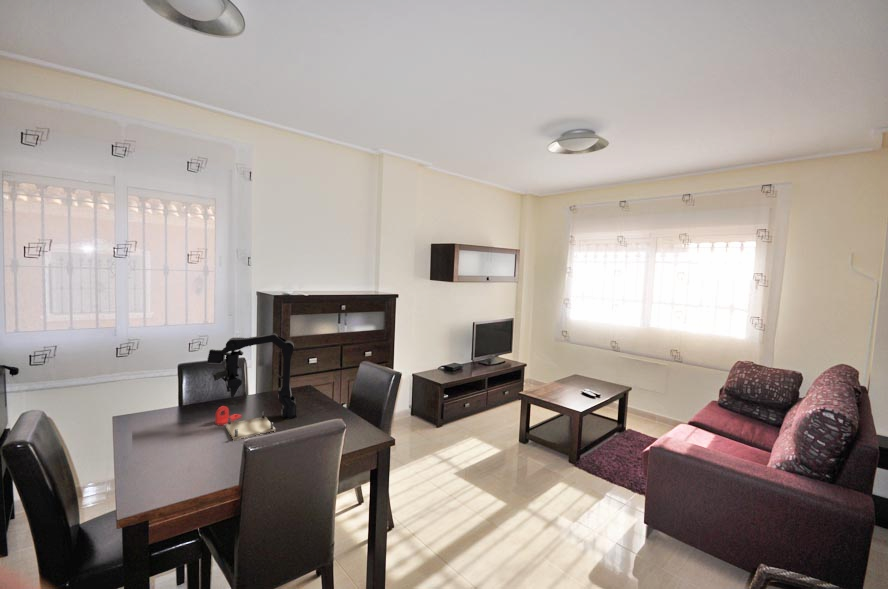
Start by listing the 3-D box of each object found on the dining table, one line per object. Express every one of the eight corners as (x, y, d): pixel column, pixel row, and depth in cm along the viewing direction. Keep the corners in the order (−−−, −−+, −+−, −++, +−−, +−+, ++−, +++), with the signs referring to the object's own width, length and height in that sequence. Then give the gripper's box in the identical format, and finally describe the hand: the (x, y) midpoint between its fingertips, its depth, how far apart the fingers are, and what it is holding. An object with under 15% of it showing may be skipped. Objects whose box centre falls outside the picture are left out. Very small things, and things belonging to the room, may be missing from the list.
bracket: (222, 426, 191) (222, 410, 191) (215, 424, 193) (215, 408, 192) (242, 417, 203) (242, 402, 202) (235, 415, 204) (235, 400, 204)
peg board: (265, 419, 201) (265, 410, 201) (275, 431, 187) (275, 422, 187) (225, 426, 190) (225, 417, 190) (233, 440, 176) (233, 431, 176)
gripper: (210, 360, 197) (208, 391, 198) (216, 369, 183) (214, 402, 184) (235, 358, 204) (233, 388, 205) (243, 367, 190) (241, 399, 191)
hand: (230, 394), depth 196 cm, fingers open, 9 cm apart
